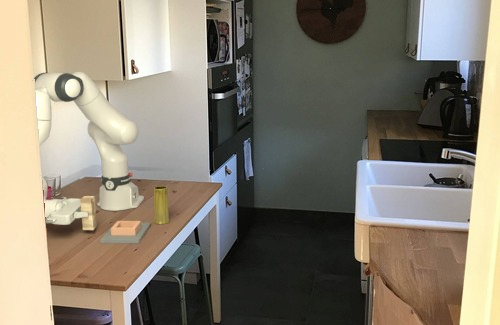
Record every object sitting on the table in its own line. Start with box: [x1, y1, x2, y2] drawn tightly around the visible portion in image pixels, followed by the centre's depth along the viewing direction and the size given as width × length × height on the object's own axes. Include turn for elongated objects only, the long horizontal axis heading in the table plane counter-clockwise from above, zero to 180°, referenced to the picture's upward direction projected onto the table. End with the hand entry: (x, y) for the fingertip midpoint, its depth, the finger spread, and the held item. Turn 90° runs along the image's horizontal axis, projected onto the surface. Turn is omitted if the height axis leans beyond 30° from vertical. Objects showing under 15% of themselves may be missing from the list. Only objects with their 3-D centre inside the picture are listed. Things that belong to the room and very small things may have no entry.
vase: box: [153, 185, 171, 225], centre depth 221 cm, size 6×6×14 cm
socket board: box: [99, 220, 152, 244], centre depth 210 cm, size 20×14×4 cm
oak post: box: [79, 195, 98, 231], centre depth 209 cm, size 4×4×12 cm
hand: (90, 211), depth 209 cm, fingers closed on oak post, 4 cm apart
